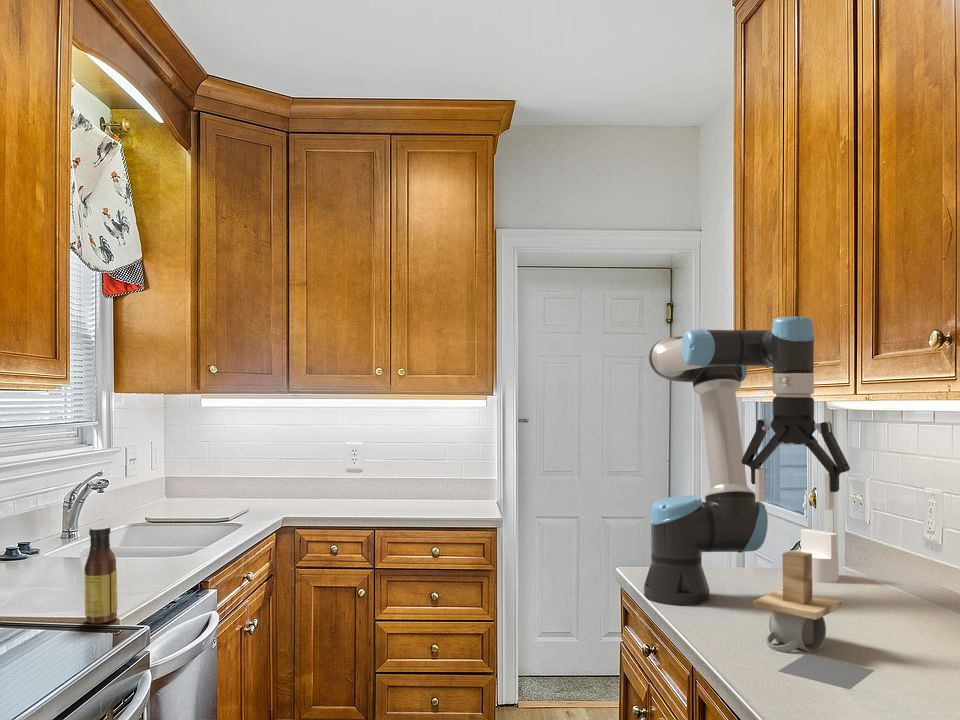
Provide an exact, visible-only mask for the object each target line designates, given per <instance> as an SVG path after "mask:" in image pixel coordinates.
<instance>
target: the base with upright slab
mask: <svg viewBox="0 0 960 720" xmlns="http://www.w3.org/2000/svg"><path fill="white" fill-rule="evenodd" d="M838 547H839V546H838V533H835V532H828V531H822V530H816V529H809V528H803V529H801V530H800V552H805V553H812V583H813V582H815V583H824V584H825V583H826V584H827V583H837V582H839V553H838V550H839V549H838Z"/></svg>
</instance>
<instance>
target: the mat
mask: <svg viewBox="0 0 960 720" xmlns="http://www.w3.org/2000/svg"><path fill="white" fill-rule="evenodd" d="M874 671H875V670H874V669H870V668H866V667H863V666H858V665H853V664H850V663H844V662H842V661H841V662H840V661H835V660H832V659H828V658H823V657H819V656H814V655H810V654H804V655H801V657H798V658H797V659H795V660H794V661H791V663H789V664H787V665H785V666H784V667H782V668H780V669H779V670H777V672H779V673H784V674H788V675H791V676H796V677H799V678H804V679H806V680H807V679H808V680H811V681H816V682H817V683H822V684H826V685H830V686H835V687H838V688H842V689H846V690H851V688H854V686H856V685H857V684H858V683H860V682H862V680H864V679H865V678H867V677H868V676H869V675H870V674H872V673H873V672H874Z"/></svg>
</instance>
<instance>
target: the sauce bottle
mask: <svg viewBox="0 0 960 720" xmlns="http://www.w3.org/2000/svg"><path fill="white" fill-rule="evenodd" d="M88 534H89V536H90V537H89V538H90V540H89V541H90V545H89V553H88V555H87V556H88V557H87V559H86V562H85V564H84V570H83V571H84V573H83V574H84V616H85V618H86V619H85V620H86V622H87V623H90V624H95V625H101V624H104V623H105V624H106V623H110V622H113V621H114V620H116V619H117V617H118V614H117V611H118V578H117V577H118V575H117V572H118V571H117V559H116V557H115V553H114V552H113V551H112V550H111V548H110V547H111V544H110V543H111V541H110V534H111V527H110V526H109V525H97V526H92V527H90V528H89V532H88Z"/></svg>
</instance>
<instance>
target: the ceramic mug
mask: <svg viewBox="0 0 960 720" xmlns="http://www.w3.org/2000/svg"><path fill="white" fill-rule="evenodd" d="M771 612H772V613H771V614H770V617H769V620H768V621H769V622H768V624H769V625H768V627H769V631H770V633H769V634H768V635H766V644H767V647H768V648H770V650H774V651H776V652H782V653H789V652H792V651H794V650H795V649H799V650H802V651H805V652H811V651H812V650H810V649H808V648H807V647H806V646H809V647H812V648H815V649H818V650H820V649H821V648H822V647H823V645H824V643H825V640H826V635H827V634H826V633H827V626H826V621H825V617H824V616H823V617H821V618H818V619H816V620H815V619H810V618H805V617H800V616H795V615H791V614H786V613H781V612H776V611H771ZM774 640H775V641H776V642H778V643H781V645H774V644H772V642H773V641H774Z"/></svg>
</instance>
